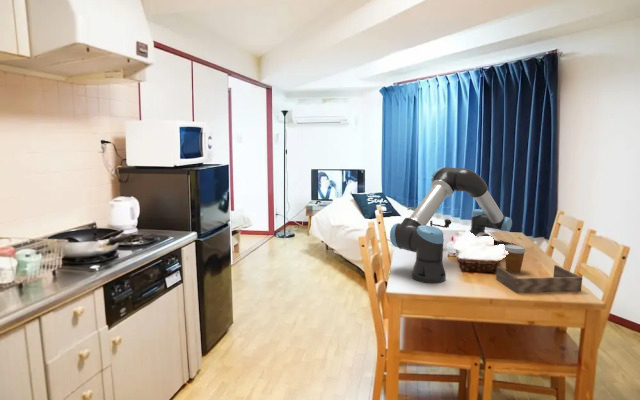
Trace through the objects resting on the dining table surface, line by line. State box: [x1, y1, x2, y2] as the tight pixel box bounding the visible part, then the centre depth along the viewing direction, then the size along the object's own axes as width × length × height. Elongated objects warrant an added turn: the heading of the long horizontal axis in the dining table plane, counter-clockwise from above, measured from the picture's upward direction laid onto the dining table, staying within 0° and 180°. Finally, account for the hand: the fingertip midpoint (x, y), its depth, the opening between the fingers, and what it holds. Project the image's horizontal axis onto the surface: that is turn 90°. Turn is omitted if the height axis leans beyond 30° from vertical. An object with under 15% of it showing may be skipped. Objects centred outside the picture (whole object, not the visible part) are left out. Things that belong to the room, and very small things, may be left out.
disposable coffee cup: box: [504, 244, 526, 274], centre depth 197 cm, size 10×10×12 cm
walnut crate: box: [495, 264, 583, 294], centre depth 178 cm, size 28×17×6 cm, turn 93°
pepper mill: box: [429, 218, 452, 229], centre depth 238 cm, size 16×11×18 cm
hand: (504, 250), depth 206 cm, fingers open, 13 cm apart
